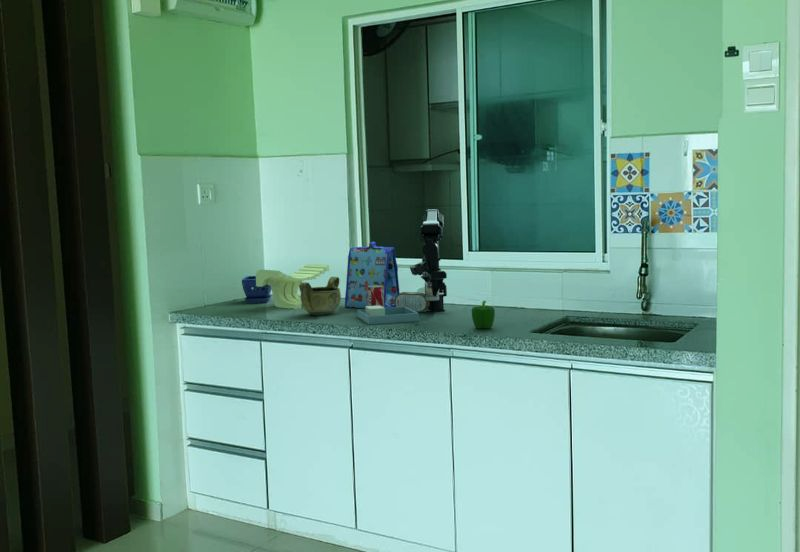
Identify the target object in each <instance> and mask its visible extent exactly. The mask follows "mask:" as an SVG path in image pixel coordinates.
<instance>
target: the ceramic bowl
mask: <svg viewBox="0 0 800 552" xmlns="http://www.w3.org/2000/svg"><path fill="white" fill-rule="evenodd" d="M339 284H340V278H339V276H330V277H329V279H328V281H327V284H326V286H315V287H314V286H313V287H312V286H311V284H310V283H309V282H304V281H302V282H301V283H300V285H299V287H298V290H299V292H300V298H301V303H302V305H303V308H302V309H304V311H306V312H307V313H308V314H310V315H312V316H321V317H323V316H328V315H330V314H332V313H335V312H336V310H337V309H338V308H339V306H340V304H341V298H342V297H341V296H342V295H341V294H342V293H341V289H340V287H339Z"/></svg>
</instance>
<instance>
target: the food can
mask: <svg viewBox="0 0 800 552" xmlns="http://www.w3.org/2000/svg"><path fill="white" fill-rule="evenodd" d="M425 293H426V300H428V301H435V300H439V294H440V293H439V290H438V292H437V295H436V296H433V293H432V287H431V282H430V281H427V282H425V281H424V294H425Z"/></svg>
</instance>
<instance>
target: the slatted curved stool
mask: <svg viewBox="0 0 800 552" xmlns="http://www.w3.org/2000/svg"><path fill="white" fill-rule="evenodd" d="M329 271H330V264H325V263H324V264H321V263H319V264H318V263H308V264H305V265H303V267H302V268H299V269H298V270H297V271H294V273H291V274H286V273H283V272H281V270H271V269H259V270H257V271H256V273H255V276H256V286H258V287H259V286H265V285H269V286H271V292H272V296H273V297H272V298H273V304H274V306H275V307H276V308H284V309H290V308H293V309H292V310H298V309H297V308H299V309H303V308H302V307H303V305H302V303H301V296H299V294H298V290H299V285H300V283H301V282H304V281H308V280H316V279H317V277H321V275H323V274H326V272H329Z"/></svg>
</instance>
